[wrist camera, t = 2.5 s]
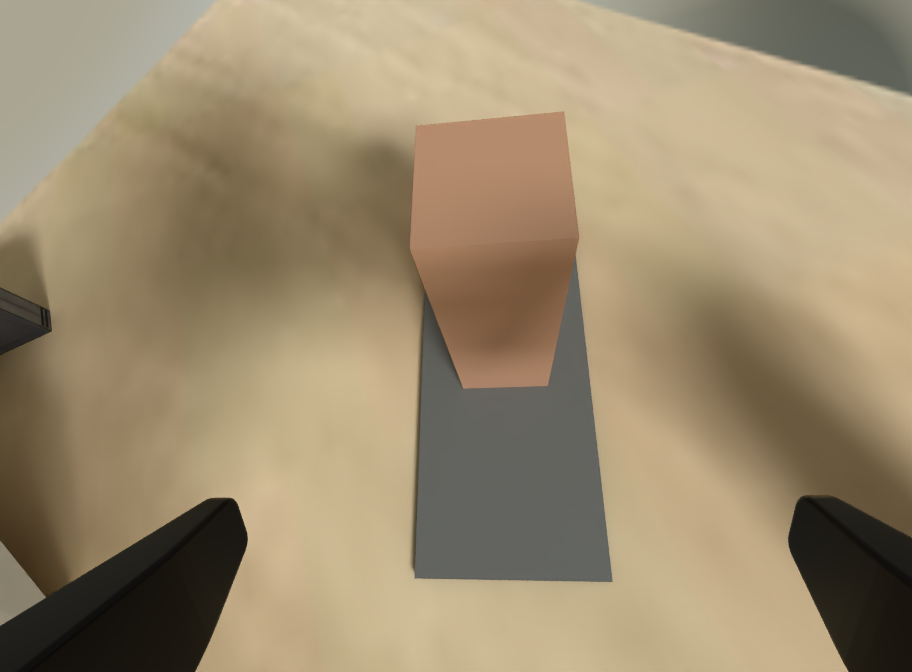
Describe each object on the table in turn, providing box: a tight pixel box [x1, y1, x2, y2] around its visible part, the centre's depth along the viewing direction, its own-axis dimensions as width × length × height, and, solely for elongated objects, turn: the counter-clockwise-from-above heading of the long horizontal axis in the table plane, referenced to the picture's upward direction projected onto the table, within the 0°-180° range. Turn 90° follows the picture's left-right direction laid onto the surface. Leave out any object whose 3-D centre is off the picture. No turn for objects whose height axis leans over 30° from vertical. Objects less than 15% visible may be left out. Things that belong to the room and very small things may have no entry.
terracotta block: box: [410, 112, 579, 389], centre depth 17 cm, size 4×4×12 cm
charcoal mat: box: [415, 255, 612, 582], centre depth 23 cm, size 20×8×1 cm, turn 0°
